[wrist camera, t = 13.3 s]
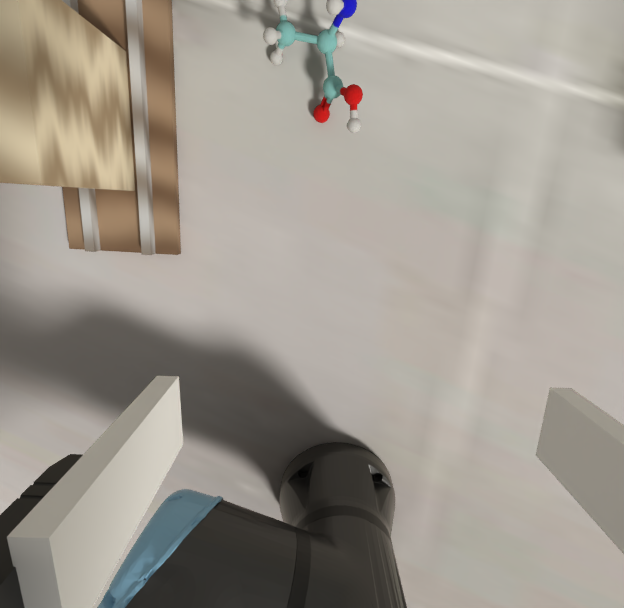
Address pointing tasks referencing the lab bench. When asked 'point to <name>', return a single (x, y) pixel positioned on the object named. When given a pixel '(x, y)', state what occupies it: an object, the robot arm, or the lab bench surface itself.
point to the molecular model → (342, 6)
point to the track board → (135, 138)
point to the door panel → (62, 100)
